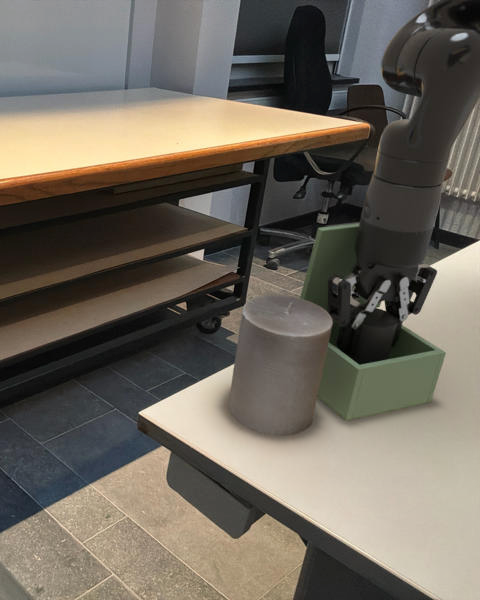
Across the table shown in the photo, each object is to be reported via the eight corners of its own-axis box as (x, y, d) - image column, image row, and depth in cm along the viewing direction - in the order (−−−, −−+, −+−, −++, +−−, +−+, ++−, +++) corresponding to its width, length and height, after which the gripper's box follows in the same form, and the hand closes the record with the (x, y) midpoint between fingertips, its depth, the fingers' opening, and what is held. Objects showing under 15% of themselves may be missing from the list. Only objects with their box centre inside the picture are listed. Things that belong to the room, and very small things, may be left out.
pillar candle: (283, 387, 85) (303, 280, 79) (328, 434, 77) (355, 318, 70) (212, 398, 83) (227, 288, 76) (251, 447, 75) (272, 329, 68)
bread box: (429, 407, 82) (446, 352, 79) (344, 426, 79) (358, 369, 75) (364, 359, 92) (376, 308, 89) (286, 374, 88) (295, 322, 85)
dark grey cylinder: (361, 362, 88) (375, 303, 84) (391, 384, 83) (407, 323, 79) (327, 368, 86) (339, 309, 82) (355, 391, 82) (370, 330, 78)
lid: (408, 220, 82) (384, 207, 85) (322, 230, 78) (300, 215, 81) (379, 307, 88) (358, 291, 92) (298, 320, 84) (279, 303, 88)
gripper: (368, 235, 70) (337, 373, 77) (474, 222, 74) (435, 354, 82) (322, 212, 76) (298, 342, 84) (422, 201, 80) (391, 325, 88)
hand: (366, 347), depth 83 cm, fingers closed on dark grey cylinder, 5 cm apart
